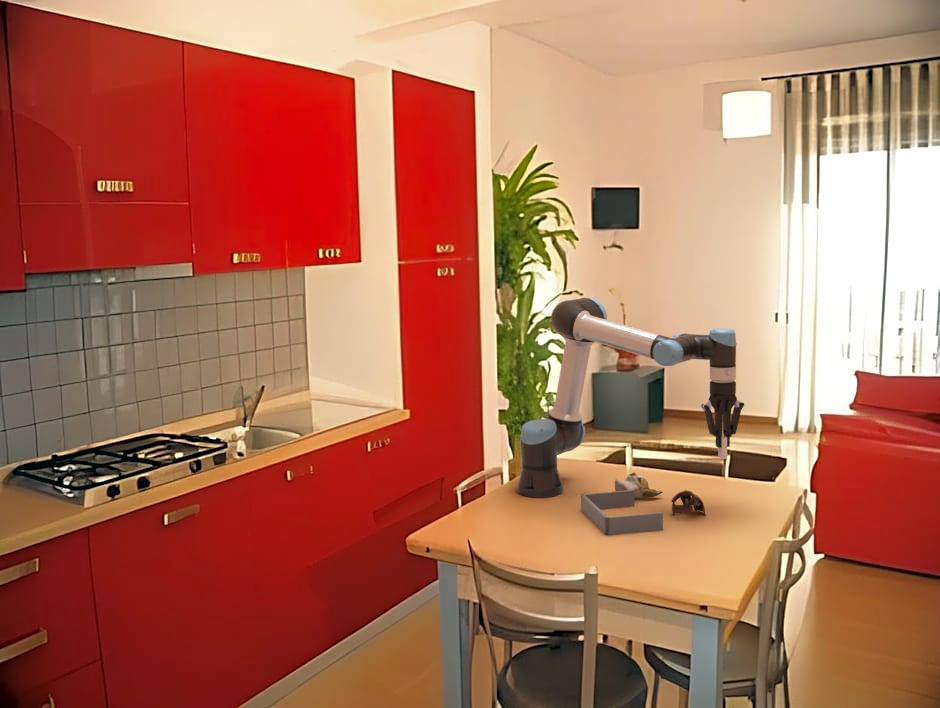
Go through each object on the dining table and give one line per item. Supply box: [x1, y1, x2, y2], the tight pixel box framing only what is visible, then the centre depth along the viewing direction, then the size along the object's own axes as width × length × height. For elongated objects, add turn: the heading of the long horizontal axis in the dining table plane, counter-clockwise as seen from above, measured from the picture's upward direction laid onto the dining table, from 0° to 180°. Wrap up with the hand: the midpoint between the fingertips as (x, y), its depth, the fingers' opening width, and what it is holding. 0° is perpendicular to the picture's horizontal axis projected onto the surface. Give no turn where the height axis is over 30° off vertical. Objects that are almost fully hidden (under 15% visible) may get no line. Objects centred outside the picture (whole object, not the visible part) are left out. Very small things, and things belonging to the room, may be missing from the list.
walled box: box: [580, 490, 664, 536], centre depth 260 cm, size 24×17×5 cm
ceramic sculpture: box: [614, 472, 663, 500], centre depth 280 cm, size 11×9×15 cm
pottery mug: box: [671, 489, 707, 517], centre depth 263 cm, size 12×10×8 cm
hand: (722, 457), depth 263 cm, fingers closed
